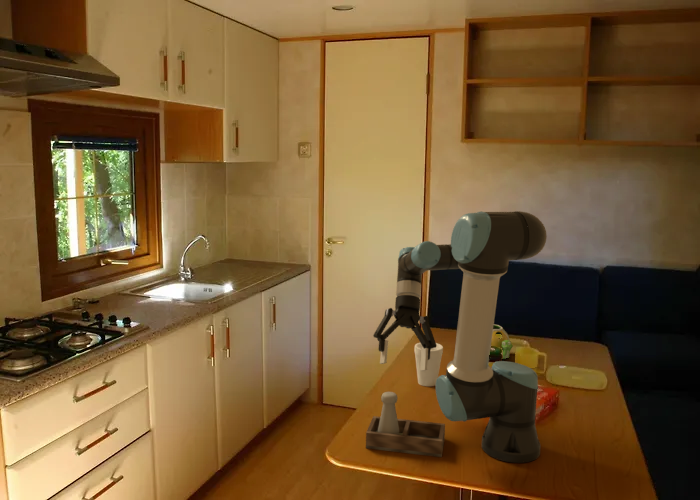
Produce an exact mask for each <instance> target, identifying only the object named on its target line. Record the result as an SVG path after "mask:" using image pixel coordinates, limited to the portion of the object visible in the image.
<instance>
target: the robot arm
mask: <svg viewBox="0 0 700 500" xmlns="http://www.w3.org/2000/svg"><path fill="white" fill-rule="evenodd" d="M546 229H547V228H546V227H545V225H544V223H543V222H542V220H541V219H539V218H538V217H537V216H536V215H534V214H531V213H529V212H526V211H521V210H520V211H517V210H516V211H477V212H469V213H465V214H463V215H462V216H460V217H459V218H458V220H457V221H456V222H455V223H454V226H453V229H452V232H451V235H450V244H436V243H434V242H432V241H431V240H430V241H429V240H426V241H422V242H420V243H419V244H417V245H416V246H406V247H403V248H401V249H400V251H399V255H398V258H397V276H396V277H397V278H396V291H395V295H396V297H395V305H394V308H395V310H394V309H393V308H392V307H390V308H387V309H385V311H384V316H383V318H382V319H381V321H380V323H379V324H378V327H376V330H375V331H374V333H373V335H372V336H373V338H376V339H377V341H378V352H380V359H379V364H381V365H384V364H387V359H388V348H389V346H388V345H389V340H388V337H389V336H390V335H392V333H393V332H394V331H395V330H397V328H398V327H400V328H406V329H411V331H413V333H414V334H415V337H416V338H417V339H418V341H419V343H421V344H422V346H423V348H424V349H421V366H420V371H426V370H427V363H428V360H429V359H430V350H431V348H435V347H436V343H437V342H436V340H435V337H434V334H433V332H432V328H431V326H430V323H429V315H425V316H423V315H422V316H421V315H420V311H421V297H422V281H423V280H422V278H423V275H424V273H426V272H427V271H440V270H441V271H443V270H458V269H459V270H461V271H462V272H463V274H462V275H463V276H462V284H461V293H460V300H459V301H460V302H459V309H458V310H459V311H458V319H457V320H458V321H457V326H456V335H455V336H456V338H455V346H454V355H453V359H452V360H450V361H449V362H448V363H447V365H446V371H445V374H441V375H438V378H437V380H436V385H435V394H436V395H435V396H436V400H437V402H438V405H439V408H440V410H441V412H442V414H443V415H444V416H445V418H446V419H447V420H449V421H451V422H468V421H471V420H478V419H487V418H489V419H488V422H487V424H486V427H485V429H484V432H483V434H482V437H481V448H482V450H483V452H484V453H485V454H486V455H488V456H490V457H492V458H494V459H497V460H499V461H502V462H507V463H512V464H513V463H514V464H522V463H531V462H533V461H535V460H537V459H538V458H539V457H540V455H541V442H540V440H539V438H538V437H539V436H538V433H537V431H538V430H537V428H536V413H537V412H536V411H537V398H538V389H539V382H538V380H539V379H538V374H537V372H536V371H535V370H534V369H533V368H531V367H529V366H527V365H525V364H521V363H518V362H514V361H504V360H499V361H495V362H493V363H492V366H491V367H490V365H489V362H490V359H489V355H490V348H491V340H492V333H493V325H494V324H495V317H496V311H497V310H496V309H497V302H498V301H497V300H498V295H499V288H500V287H499V286H500V281H501V280H500V279H501V277H502V276H504V275H505V274H506V273H508V268H509V262H510V261H521V260H522V261H523V260H526V259H530V258H533V257H535V256H537V255H538V254H540V253H541V251H543V249H544V247H545V245H546V242H547V237H548V235H547V230H546ZM393 316H394V319H395V320H394V321H393V323H392V324H391V325H389V322H390V320H391V319H392V317H393ZM387 325H389V327H388V328H387V329H386V327H387ZM385 329H386V330H385ZM384 330H385V331H384ZM386 339H387V340H386Z"/></svg>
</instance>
